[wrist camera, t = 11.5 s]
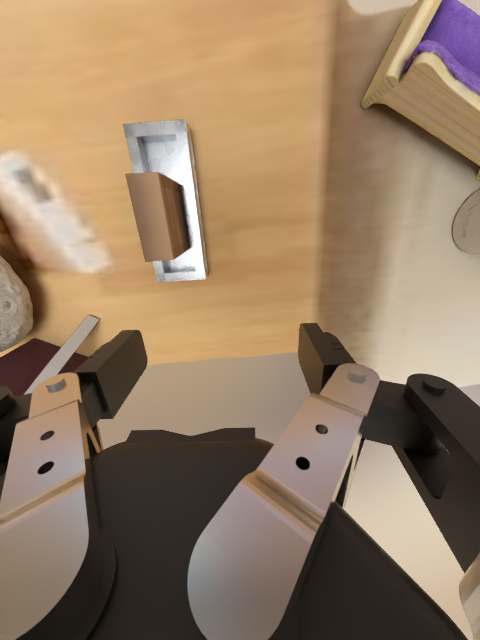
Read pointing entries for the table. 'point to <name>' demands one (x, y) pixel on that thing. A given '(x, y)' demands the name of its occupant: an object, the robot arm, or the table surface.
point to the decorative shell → (13, 308)
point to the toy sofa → (435, 74)
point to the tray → (179, 165)
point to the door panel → (159, 215)
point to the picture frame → (42, 360)
